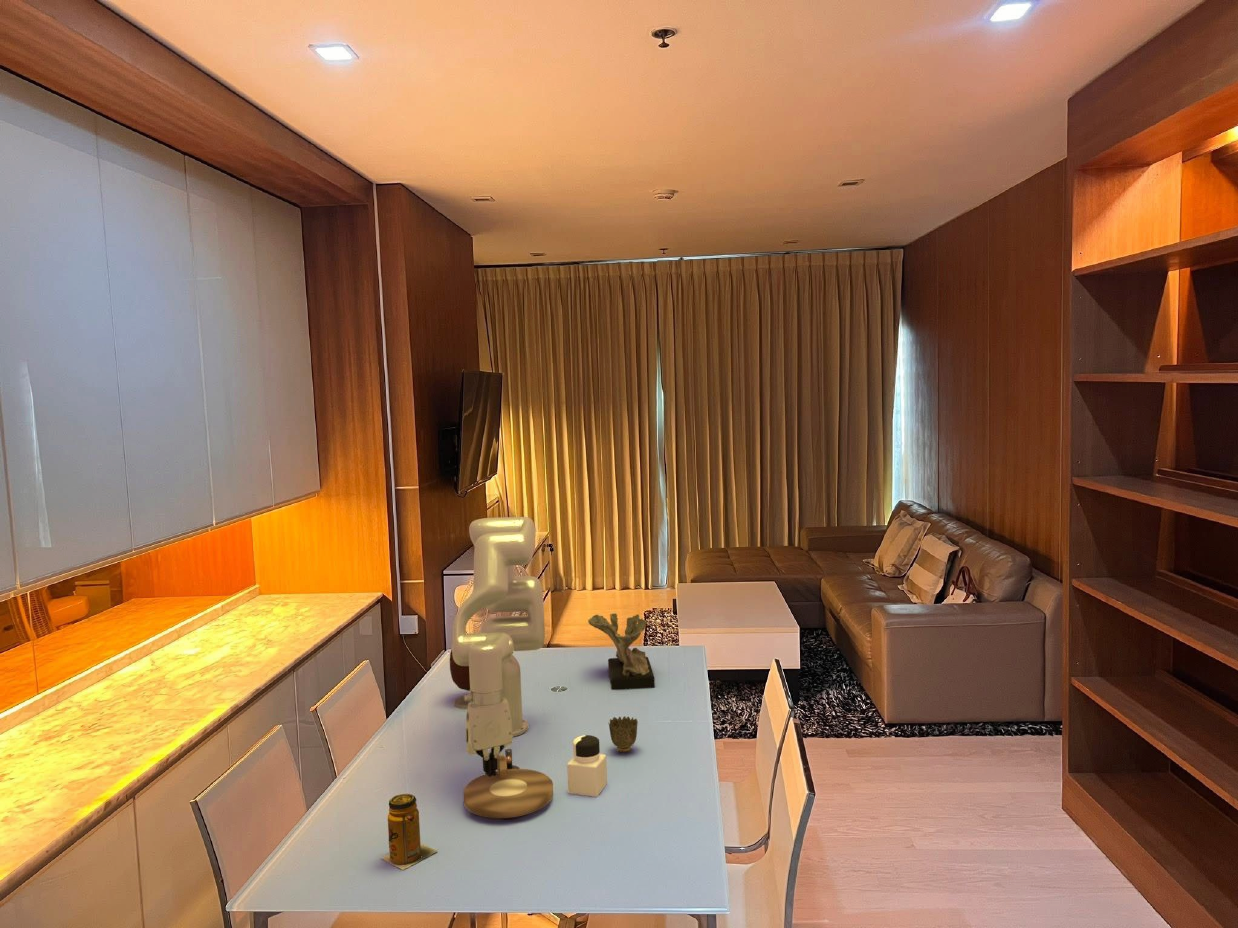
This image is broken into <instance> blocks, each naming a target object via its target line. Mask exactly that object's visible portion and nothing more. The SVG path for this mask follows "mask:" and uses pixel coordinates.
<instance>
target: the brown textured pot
mask: <svg viewBox="0 0 1238 928" xmlns="http://www.w3.org/2000/svg"><path fill="white" fill-rule="evenodd" d="M638 724H639V723H638V719H637V718H634V717H631V718H630V716H627V717H626V716H625V715H624V716H623V717H621V716H618V717H615V716H614V717H613V718H612V719H611V718H610V719H609V722H608V728H609V733H610V734H609V735H610V739H611V742H612V744H613V745H614V746H615V747H616V751H617V752H618V753H619V754H622V753H625V754H629V753H630V752H631V751H632V746H634V744H635V743H636V740H637V735H638ZM628 752H629V753H628Z"/></svg>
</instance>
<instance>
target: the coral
mask: <svg viewBox="0 0 1238 928" xmlns="http://www.w3.org/2000/svg"><path fill="white" fill-rule="evenodd" d="M609 617H610V618H609V620H610V622H609V621H608V619H607V618H606V617H604V616H603V615H599V614H594V615H593V616H592V617H590V618H589V619H587V620H588V621H587V622H588V624H589V625H590V626H592V627H593V628H595V629H598V630H600V631H601V632H603V633H604V634H605V635H607V636H608V637H609V638H610V640H611V641H612V642H613V644H614V646H615V648H616V652H615V657H613V658H608V660H607V662H608V663H607V665H608V668H607V669H608V674H609V681H610V689H611V691H612V690H613V691H617V690H631V689H632V690H634V689H635V690H636V689H638V690H639V689H652V688H655V685H656V684H655V681H656V680H655V673H654V671H653V669H652V665H651V661H650V659H649V657H648V656H647V655H646V651H642V650H639V649H638V648H637V647H634V648H632V649H631V648H630V646H631V645H632V644H633V643H634V642H636V641H637V640H638V639H639V638H640V636H641V634H642V632H644V631H645V629H646V626H647V625H646V624H647V620H646V619H644V618H640V614H635V615H633V616H631V617H630V616H629V617H627V618H626V627H625V630H624V634H625V635H622V636H621V634H619V633H618V630H619V623H618V620H619V618H618V614H617V613H610V614H609Z"/></svg>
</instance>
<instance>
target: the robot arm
mask: <svg viewBox="0 0 1238 928" xmlns="http://www.w3.org/2000/svg"><path fill="white" fill-rule="evenodd" d="M468 529H469V531H468V532H469V537H470V538H469V539H470V540H471V542H472V544H473V546H474V549H473V550H474V553H473V554H474V555H473V580H472V581H473V582H472V584H473V585H472V586H473V589H472V593H471V594H470V595H469V596H468V597H467V599H465V600H464V601H463V602H462V604H461V605H460V607H459V609H458V610H457V612H456V614H455V617H454V621H453V626H452V641H451V644H452V645H451V647H452V655H453V659H454V661H455V663H456V664H458V665H460V666H469V674H470V690H469V691H468V692H469V693H467V694H468V695H467V694H464V695H465V696H464V699H465V701H470V703H468V708H467V709H466V717H465V718H466V719H465V742H466V749H465V752H466V753H467V754H468V755H478V756H479V757H480V758H482V770H483V773H484V774H487V775H488V776H489V777H492V775H493V776H496V771H497V770H498V765H497V758H498V757H499V755H500V754H501V752H502V751H503V750H504V748H507V747H509V746H511V745H512V744H513V739H514V737H517V736H521V735H523V734H524V733H526V732H528V729H529V722H528V721H527V720H525V719H523V702H522V701H523V699H522V697H523V696H522V681H521V679H522V678H521V677H522V675H521V672H522V671H521V665H520V663H519V661H518V659H517V658H516V657H515V656H514V652H529V651H537V650H540V649H541V648H543V646H544V645H545V640H546V628H545V626H546V625H545V623H546V622H545V607H544V604H545V603H544V591H543V586H542V583H541V580H539V578H537V577H536V576H531V575H530V576H529V575H526V576H516V575H515V566H525V565H528V564H530V563H531V562H532V559H533V555H534V549H535V543H536V526H535V522H534V521H533V520H532V518H531V517H527V516H507V517H484V518H479V519H474V520H473V521H472V522H471V523H470V525H469V527H468ZM485 608H486V609H487V610H488V611H489V612H492V613H518V612H519V613H520V612H524V613H526V614H527V615H508V616H507V615H504V616H503V615H502V616H494V617H489V618H487V619H485V620H484V621H483V622H482V624H481V626H480V631H479V632H477V633H476V632H475V633H473V632H471V633H466V627H467V625H468V623H469V621H470V620H471V618H472V617H473V616H474V615H476V614H477V613H479V612H480V611H482V610H483V609H485ZM489 750H490V753H489Z"/></svg>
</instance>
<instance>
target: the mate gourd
mask: <svg viewBox="0 0 1238 928" xmlns="http://www.w3.org/2000/svg"><path fill="white" fill-rule="evenodd" d="M449 671H450V675H451V680H452V681H453V683H454V684H455V685H456V686H457V687H458V688H459V689H460V690H463V691H468V692H469V690H470V674H469V666H460V665H458V664H456V663H455V661H454V659H453V655H452V646H451V647H450V654H449ZM468 694H469V693H467V694H464V695H461V696H458V697H457V698H455V700H454V702H453V704H454V706H455V707H456V708H458V709H461V710H467V708H468V703H470V701H465V699H464V696H465V695H468Z"/></svg>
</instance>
